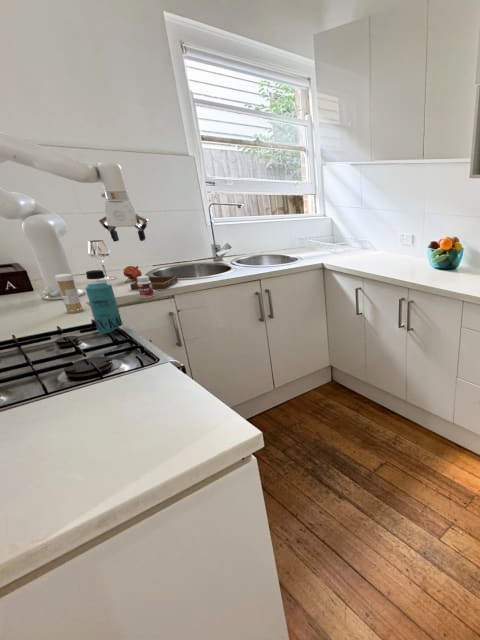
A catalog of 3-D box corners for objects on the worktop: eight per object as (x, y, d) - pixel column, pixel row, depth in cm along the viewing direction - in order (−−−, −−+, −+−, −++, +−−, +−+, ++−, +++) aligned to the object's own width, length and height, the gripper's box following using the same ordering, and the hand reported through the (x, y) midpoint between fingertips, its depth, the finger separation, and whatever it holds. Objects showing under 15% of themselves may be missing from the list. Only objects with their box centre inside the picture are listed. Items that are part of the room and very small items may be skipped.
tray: (164, 289, 169) (163, 283, 168) (131, 290, 166) (130, 284, 165) (177, 281, 182) (176, 276, 181) (147, 282, 180) (146, 276, 179)
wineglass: (99, 281, 179) (87, 242, 172) (93, 279, 183) (82, 241, 176) (119, 278, 185) (109, 241, 178) (113, 276, 189) (103, 239, 183)
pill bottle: (139, 298, 154) (133, 278, 151) (143, 295, 158) (138, 275, 155) (152, 298, 155) (147, 277, 152) (156, 295, 160) (151, 275, 157)
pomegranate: (135, 287, 179) (149, 271, 184) (120, 276, 174) (135, 260, 178) (128, 286, 183) (142, 271, 187) (113, 276, 178) (128, 260, 182)
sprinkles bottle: (65, 311, 137) (53, 274, 132) (81, 308, 141) (70, 272, 136) (68, 314, 135) (56, 276, 130) (85, 311, 138) (73, 274, 133)
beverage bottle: (97, 334, 117) (77, 270, 110) (123, 329, 122) (106, 267, 114) (101, 340, 113) (80, 274, 106) (127, 335, 118) (109, 271, 110)
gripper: (87, 197, 146) (101, 242, 153) (137, 197, 149) (149, 241, 156) (97, 196, 153) (110, 240, 159) (145, 196, 156) (156, 239, 163)
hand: (129, 240), depth 158 cm, fingers open, 9 cm apart
